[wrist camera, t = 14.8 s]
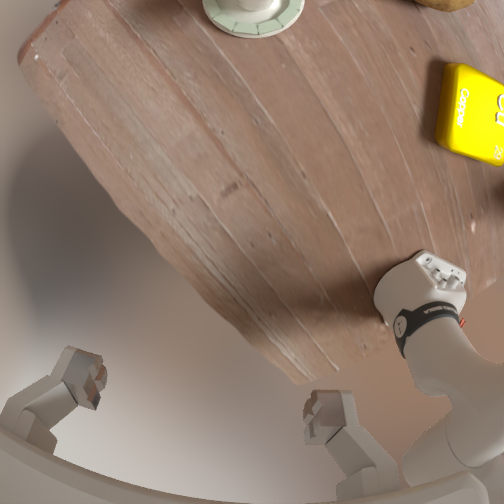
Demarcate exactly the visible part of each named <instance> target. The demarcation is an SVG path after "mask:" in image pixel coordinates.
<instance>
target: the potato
mask: <svg viewBox="0 0 504 504" xmlns="http://www.w3.org/2000/svg"><path fill="white" fill-rule="evenodd" d="M415 1H417V2H418V3H420V4H423V5H425V6H427V7H430V8H433V9H436V10H439V11H445V12H453V11H456V10H459V9H462V8H465V7H468V6H469V5H471V4H472V3H473V2H474V0H415Z"/></svg>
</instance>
